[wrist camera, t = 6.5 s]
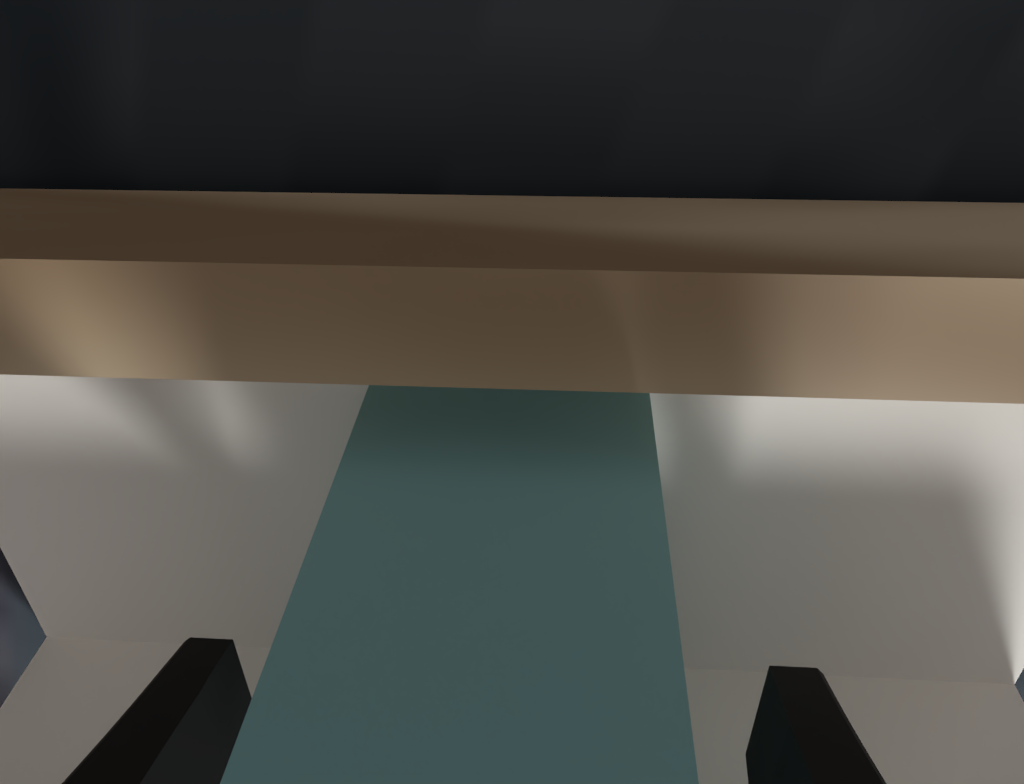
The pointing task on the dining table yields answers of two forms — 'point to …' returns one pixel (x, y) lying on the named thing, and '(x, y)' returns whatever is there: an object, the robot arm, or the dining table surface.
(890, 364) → the cleat board
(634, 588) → the teal block
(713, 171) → the dining table surface
